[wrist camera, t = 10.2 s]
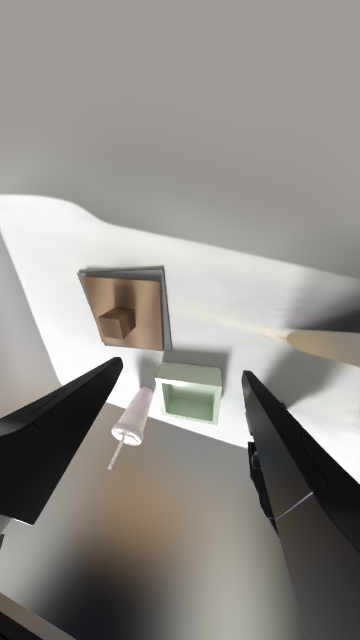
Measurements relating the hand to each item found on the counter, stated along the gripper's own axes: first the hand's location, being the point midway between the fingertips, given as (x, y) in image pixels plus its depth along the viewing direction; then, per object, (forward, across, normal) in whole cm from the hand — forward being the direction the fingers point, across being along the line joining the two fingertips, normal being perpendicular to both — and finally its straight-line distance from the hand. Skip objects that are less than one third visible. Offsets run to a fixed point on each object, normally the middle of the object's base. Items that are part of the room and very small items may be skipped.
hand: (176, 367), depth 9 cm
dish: (+13, +1, +19) cm, 23 cm away
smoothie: (+13, +12, +24) cm, 30 cm away
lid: (+13, +12, +2) cm, 17 cm away
